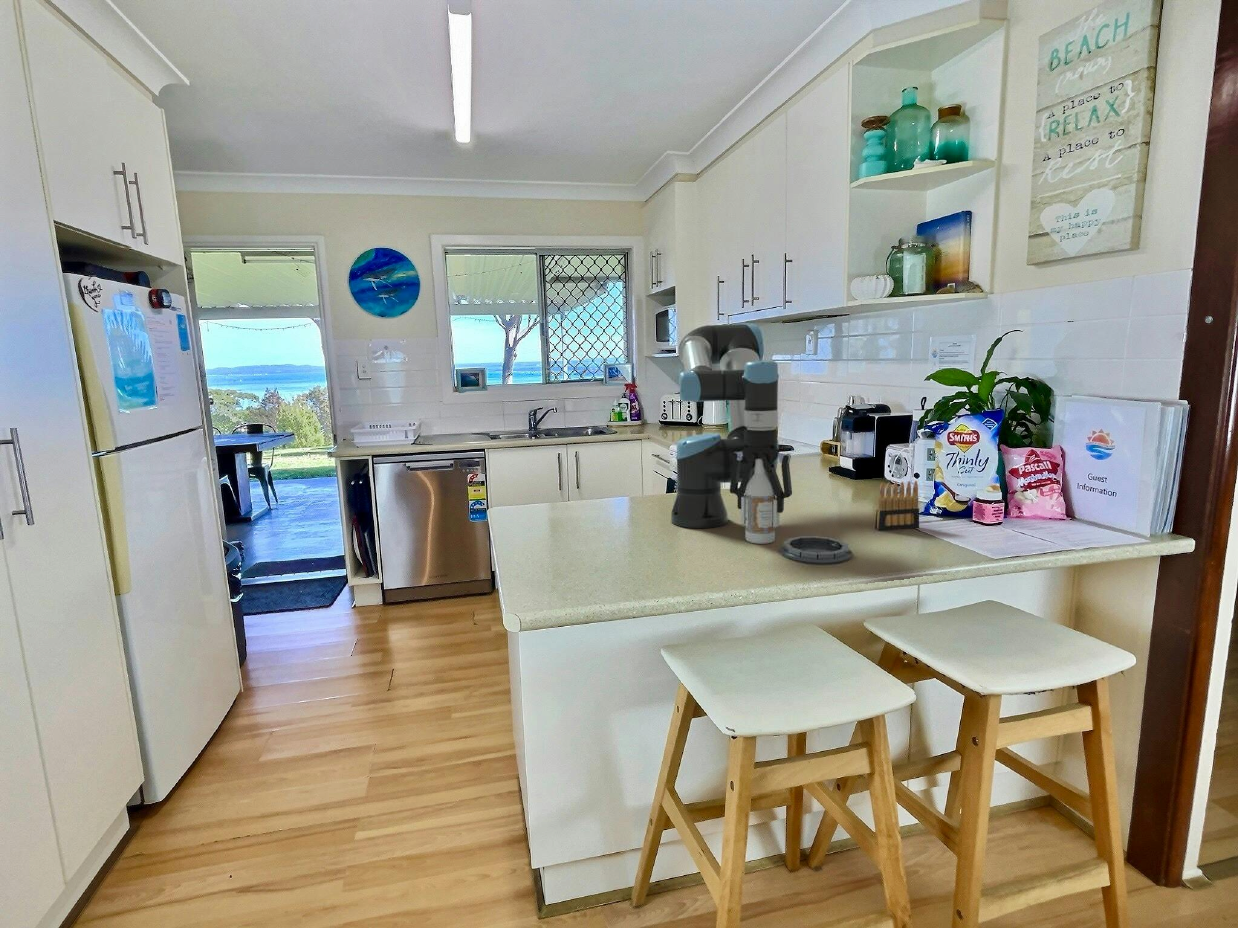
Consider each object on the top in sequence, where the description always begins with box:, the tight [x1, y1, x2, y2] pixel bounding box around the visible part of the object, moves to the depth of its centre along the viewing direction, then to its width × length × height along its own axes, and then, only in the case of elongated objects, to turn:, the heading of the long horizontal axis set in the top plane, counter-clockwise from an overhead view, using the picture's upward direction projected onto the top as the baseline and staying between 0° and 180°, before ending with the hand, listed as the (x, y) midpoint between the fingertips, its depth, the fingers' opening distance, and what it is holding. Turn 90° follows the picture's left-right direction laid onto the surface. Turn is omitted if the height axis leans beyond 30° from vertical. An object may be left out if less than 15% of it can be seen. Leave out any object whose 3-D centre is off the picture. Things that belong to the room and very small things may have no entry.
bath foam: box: [744, 459, 776, 545], centre depth 147 cm, size 7×7×20 cm
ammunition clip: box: [874, 480, 920, 532], centre depth 154 cm, size 11×2×12 cm, turn 97°
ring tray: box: [780, 535, 853, 565], centre depth 138 cm, size 15×15×2 cm
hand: (760, 523), depth 148 cm, fingers closed on bath foam, 7 cm apart
